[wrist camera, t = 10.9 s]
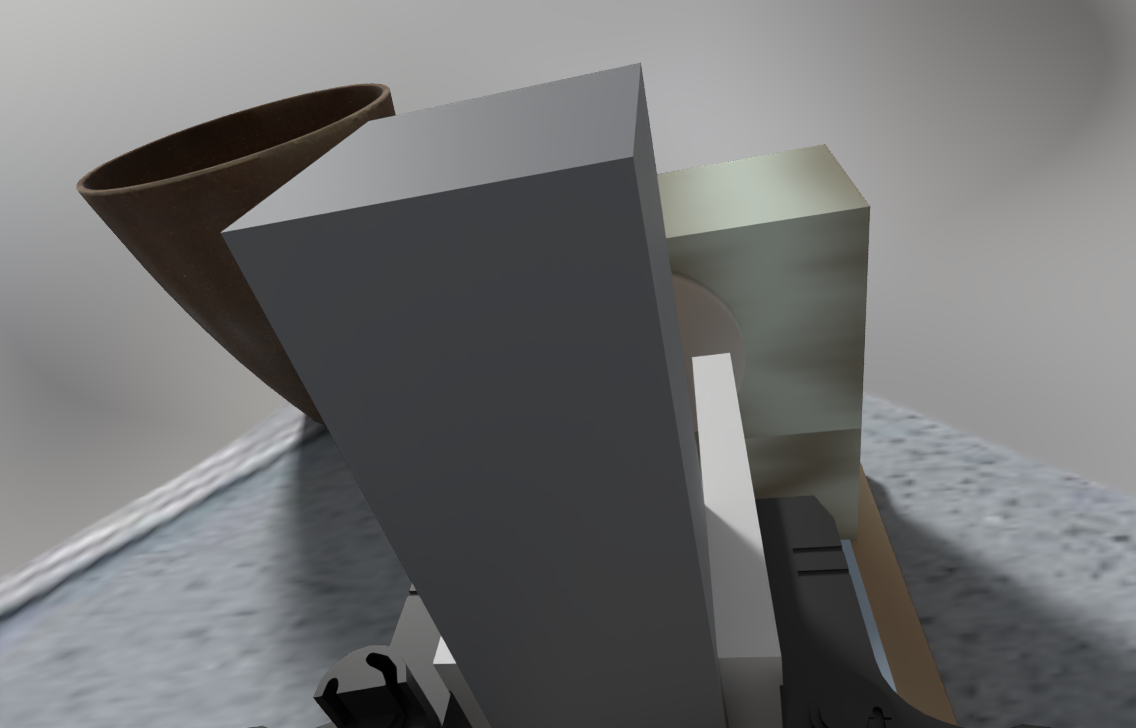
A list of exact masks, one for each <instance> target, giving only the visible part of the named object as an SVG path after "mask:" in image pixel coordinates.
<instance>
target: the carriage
mask: <svg viewBox="0 0 1136 728" xmlns="http://www.w3.org/2000/svg"><path fill="white" fill-rule="evenodd" d="M221 234H222V236H223V238H224V240H225V242H226V244H227V245H228V247H229V249H230V251H231V253H232V255H233V256H234V258H235V260H236V262H237V264H238V265H239V267H240V269H241V271H242V273H243V275H244V276H245V278H246V280H247V282H248V284H249V286H250V287H251V289H252V291H253V293H254V295H255V297H256V298H257V300H258V302H259V304H260V306H261V308H262V309H263V311H264V313H265V315H266V317H267V318H268V320H269V322H270V324H271V326H272V328H273V329H274V331H275V333H276V335H277V337H278V339H279V340H280V342H281V344H282V346H283V348H284V350H285V351H286V353H287V355H288V357H289V359H290V361H291V362H292V364H293V366H294V368H295V370H296V371H297V373H298V375H299V377H300V379H301V381H302V382H303V384H304V386H305V388H306V390H307V392H308V393H309V395H310V397H311V399H312V401H313V403H314V404H315V406H316V408H317V410H318V412H319V414H320V415H321V417H322V419H323V421H324V423H325V425H326V426H327V428H328V430H329V432H330V434H331V435H332V437H333V439H334V441H335V443H336V445H337V446H338V448H339V450H340V452H341V454H342V456H343V457H344V459H345V461H346V463H347V465H348V467H349V468H350V470H351V472H352V474H353V476H354V478H355V479H356V481H357V483H358V485H359V487H360V488H361V490H362V492H363V494H364V496H365V498H366V499H367V501H368V503H369V505H370V507H371V509H372V510H373V512H374V514H375V516H376V518H377V520H378V521H379V523H380V525H381V527H382V529H383V531H384V532H385V534H386V536H387V538H388V540H389V542H390V543H391V545H392V547H393V549H394V551H395V552H396V554H397V556H398V558H399V560H400V562H401V563H402V565H403V567H404V569H405V571H406V573H407V574H408V576H409V578H410V580H411V582H412V584H413V585H414V587H415V589H416V591H417V593H418V595H419V596H420V598H421V600H422V602H423V604H424V605H425V607H426V609H427V611H428V613H429V615H430V616H431V618H432V620H433V622H434V624H435V626H436V627H437V629H438V631H439V633H440V635H441V637H442V638H443V640H444V642H445V644H446V646H447V648H448V649H449V651H450V653H451V655H452V657H453V658H454V660H455V662H456V664H457V666H458V668H459V669H460V671H461V673H462V675H463V677H464V679H465V680H466V682H467V684H468V686H469V688H470V690H471V691H472V693H473V695H474V697H475V699H476V701H477V702H478V704H479V706H480V708H481V710H482V712H483V713H484V715H485V717H486V719H487V721H488V722H489V724H490V726H491V728H729V725H728V719H727V713H726V706H725V700H724V694H723V687H722V681H721V675H720V668H719V662H718V654H717V642H716V630H715V619H714V607H713V595H712V584H711V572H710V560H709V548H708V537H707V525H706V513H705V503H704V496H703V489H702V482H701V475H700V468H699V461H698V454H697V448H696V441H695V434H694V427H693V420H692V413H691V406H690V399H689V392H688V385H687V379H686V372H685V365H684V358H683V351H682V344H681V337H680V330H679V323H678V316H677V309H676V303H675V296H674V289H673V282H672V275H671V268H670V261H669V254H668V247H667V240H666V234H665V227H664V220H663V213H662V206H661V199H660V192H659V185H658V178H657V172H656V164H655V158H654V151H653V144H652V137H651V130H650V124H649V116H648V109H647V103H646V96H645V89H644V82H643V75H642V68H641V63H638V64H633V65H628V66H624V67H620V68H615V69H610V70H605V71H600V72H595V73H591V74H586V75H582V76H577V77H572V78H568V79H563V80H558V81H554V82H549V83H544V84H540V85H535V86H530V87H526V88H521V89H516V90H512V91H507V92H502V93H498V94H493V95H489V96H484V97H479V98H474V99H470V100H465V101H460V102H456V103H451V104H447V105H442V106H437V107H433V108H428V109H423V110H419V111H415V112H409V113H405V114H400V115H395V116H391V117H386V118H381V119H377V120H372V121H368V122H367V123H366V124H364V125H363V126H362V127H360V128H359V129H358V130H356V131H355V132H354V133H352V134H351V135H350V136H348V137H347V138H346V139H344V140H343V141H342V142H340V143H339V144H338V145H336V146H335V147H334V148H332V149H331V150H330V151H328V152H327V153H326V154H324V155H323V156H322V157H320V158H319V159H318V160H317V161H315V162H314V163H313V164H311V165H310V166H309V167H307V168H306V169H305V170H303V171H302V172H301V173H299V174H298V175H297V176H295V177H294V178H293V179H291V180H290V181H289V182H287V183H286V184H285V185H283V186H282V187H281V188H279V189H278V190H277V191H275V192H274V193H273V194H271V195H270V196H269V197H267V198H266V199H265V200H263V201H262V202H261V203H259V204H258V205H257V206H255V207H254V208H253V209H251V210H250V211H249V212H247V213H246V214H245V215H243V216H242V217H241V218H239V219H238V220H237V221H235V222H234V223H233V224H231V225H230V226H229V227H227V228H226V229H225V230H223V231H222V232H221ZM841 544H842V549H843V551H844V554H845V557H846V561H847V564H848V568H849V573H850V574H851V578H852V581H853V585H854V588H855V591H856V595H857V598H858V602H859V605H860V608H861V612H862V615H863V619H864V622H865V625H866V629H867V632H868V636H869V639H870V643H871V646H872V649H873V653H874V656H875V660H876V662H877V664H878V667H879V669H880V671H881V674H882V676H883V677H884V678H885V680H886V681H887V682H888V684H889V685H890V687H891V688H892V689H893V690H894V691H895V692H896V693H897V691H896V688H895V684H894V681H893V678H892V675H891V671H890V668H889V665H888V662H887V659H886V655H885V652H884V649H883V646H882V642H881V639H880V636H879V633H878V629H877V626H876V623H875V620H874V617H873V613H872V610H871V607H870V604H869V600H868V597H867V594H866V591H865V587H864V584H863V581H862V578H861V575H860V571H859V568H858V565H857V562H856V558H855V555H854V552H853V549H852V545H851V542H850V539H848V540H841Z"/></svg>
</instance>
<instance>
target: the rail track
mask: <svg viewBox="0 0 1136 728" xmlns="http://www.w3.org/2000/svg"><path fill="white" fill-rule="evenodd" d="M657 178H658V185H659V192H660V199H661V206H662V213H663V220H664V227H665V234H666V240H667V247H668V254H669V261H670V268H671V275H672V282H673V289H674V296H675V303H676V309H677V316H678V323H679V330H680V337H681V344H682V351H683V358H684V365H685V372H686V379H687V385H688V392H689V399H690V406H691V413H692V420H693V427H694V434H695V441H696V443H699V433H698V421H697V409H696V397H695V386H694V374H693V362H692V357H699V356H707V355H716V354H725V353H730V356H731V362H732V368H733V374H734V380H735V386H736V392H737V398H738V404H739V409H740V415H741V421H742V427H743V433H744V439H745V445H746V451H747V457H748V463H749V469H750V474H751V480H752V486H753V492H754V498H755V499H766V498H780V497H794V496H809V495H814V496H815V497H816V498H817V499H818V500H819V502H820V503H821V504H822V505H823V506H824V507H825V508H826V510H827V511H828V512H829V513H830V514H831V515H832V516H833V518H834V520H835V523H836V527H837V530H838V534H839V537H840V540H848V539H850V542H851V545H852V549H853V552H854V555H855V558H856V562H857V565H858V568H859V571H860V575H861V578H862V581H863V584H864V587H865V591H866V594H867V597H868V600H869V604H870V607H871V610H872V613H873V617H874V620H875V623H876V626H877V629H878V633H879V636H880V639H881V642H882V646H883V649H884V652H885V655H886V659H887V662H888V665H889V668H890V671H891V675H892V678H893V681H894V684H895V688H896V691H897V694H898V695H899V696H900V697H901V698H902V699H903V700H905V701H906V702H907V703H908V704H910V705H911V706H913V707H914V708H916V709H918V710H919V711H921V712H922V713H924V714H926V715H929V716H931V717H934V718H936V719H938V720H941V721H943V722H947V723H950V724H953V725H957V726H958V723H957V721H956V718H955V715H954V713H953V710H952V707H951V705H950V702H949V699H948V697H947V694H946V691H945V688H944V686H943V683H942V680H941V678H940V675H939V672H938V670H937V667H936V664H935V662H934V659H933V656H932V654H931V651H930V648H929V645H928V643H927V640H926V637H925V635H924V632H923V629H922V627H921V624H920V621H919V619H918V616H917V613H916V610H915V608H914V605H913V602H912V600H911V597H910V594H909V592H908V589H907V586H906V584H905V581H904V578H903V576H902V573H901V570H900V567H899V565H898V562H897V559H896V557H895V554H894V551H893V549H892V546H891V543H890V541H889V538H888V535H887V532H886V530H885V527H884V524H883V522H882V519H881V516H880V514H879V511H878V508H877V506H876V503H875V500H874V498H873V495H872V492H871V489H870V487H869V484H868V481H867V479H866V476H865V473H864V471H863V468H862V465H861V463H860V450H861V424H862V399H863V372H864V347H865V321H866V297H867V271H868V244H869V221H870V206H869V204H868V203H867V201H866V200H865V199H864V197H863V196H862V194H861V193H860V192H859V190H858V189H857V188H856V186H855V185H854V183H853V182H852V181H851V179H850V178H849V176H848V175H847V174H846V172H845V171H844V169H843V168H842V167H841V165H840V164H839V163H838V161H837V160H836V158H835V157H834V156H833V154H832V153H831V151H830V150H829V149H828V147H827V146H826V145H825V144H824V145H819V146H813V147H808V148H802V149H796V150H790V151H785V152H779V153H773V154H768V155H762V156H757V157H751V158H745V159H740V160H735V161H728V162H723V163H717V164H712V165H706V166H701V167H695V168H689V169H684V170H678V171H672V172H667V173H661V174H657Z"/></svg>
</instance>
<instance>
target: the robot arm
mask: <svg viewBox="0 0 1136 728" xmlns="http://www.w3.org/2000/svg"><path fill="white" fill-rule="evenodd" d="M692 362H693V374H694V386H695V397H696V409H697V421H698V433H699V445H700V457H701V469H702V481H703V493H704V503H705V513H706V525H707V537H708V548H709V560H710V572H711V584H712V595H713V607H714V619H715V630H716V642H717V654H718V662H719V668H720V675H721V681H722V687H723V694H724V700H725V706H726V713H727V719H728V725H729V728H963V727H960V726H957V725H953V724H950V723H947V722H943V721H941V720H938V719H936V718H934V717H931V716H929V715H926V714H924V713H922V712H921V711H919V710H918V709H916V708H914V707H913V706H911V705H910V704H908V703H907V702H906V701H905V700H903V699H902V698H901V697H900V696H899V695H898V694H897V693H896V692H895V691H894V690H893V689H892V688H891V687H890V685H889V684H888V682H887V681H886V680H885V678H884V677H883V676H882V674H881V671H880V669H879V667H878V664H877V662H876V660H875V656H874V653H873V649H872V646H871V643H870V639H869V636H868V632H867V629H866V625H865V622H864V619H863V615H862V612H861V608H860V605H859V602H858V598H857V595H856V591H855V588H854V585H853V581H852V578H851V574H850V573H849V568H848V564H847V561H846V557H845V554H844V551H843V549H842V544H841V540H840V537H839V534H838V530H837V527H836V523H835V520H834V518H833V516H832V515H831V514H830V513H829V512H828V511H827V510H826V508H825V507H824V506H823V505H822V504H821V503H820V502H819V500H818V499H817V498H816V497H815V496H814V495H809V496H794V497H780V498H766V499H755V498H754V492H753V486H752V480H751V474H750V469H749V463H748V457H747V451H746V445H745V439H744V433H743V427H742V421H741V415H740V409H739V404H738V398H737V392H736V386H735V380H734V374H733V368H732V362H731V356H730V353H725V354H716V355H707V356H699V357H692ZM409 592H410V595H409V596H407V599H406V601H405V604H404V607H403V610H402V613H401V615H400V618H399V621H398V624H397V626H396V629H395V632H394V635H393V638H392V640H391V643H390V646H389V647H388V646H386V645H369V646H366V647H363V648H360V649H357V650H354V651H352V652H350V653H349V654H348V655H346V656H345V657H343V658H342V659H340V660H339V661H338V662H336V663H335V664H334V665H333V666H332V668H331V669H330V670H329V671H328V672H327V674H326V675H325V676H324V677H323V678H322V680H321V682H320V684H319V686H318V688H317V690H316V692H315V695H314V697H313V698H314V699H315V700H316V702H317V703H318V704H319V705H320V707H321V708H322V709H323V710H324V712H325V713H326V714H327V715H328V717H329V718H330V719H331V720H332V722H330V723H328V724H325V725H322V726H319V727H317V728H491V726H490V724H489V722H488V721H487V719H486V717H485V715H484V713H483V712H482V710H481V708H480V706H479V704H478V702H477V701H476V699H475V697H474V695H473V693H472V691H471V690H470V688H469V686H468V684H467V682H466V680H465V679H464V677H463V675H462V673H461V671H460V669H459V668H458V666H457V664H456V662H455V660H454V658H453V657H452V655H451V653H450V651H449V649H448V648H447V646H446V644H445V642H444V640H443V638H442V637H441V635H440V633H439V631H438V629H437V627H436V626H435V624H434V622H433V620H432V618H431V616H430V615H429V613H428V611H427V609H426V607H425V605H424V604H423V602H422V600H421V598H420V596H419V595H418V593H417V591H416V589H415V587H414V585H413V584H412V585H411V587H410V590H409ZM250 728H266V727H264V726H259V727H250ZM1012 728H1050V727H1043V726H1033V725H1023V724H1022V725H1019V726H1016V727H1012Z"/></svg>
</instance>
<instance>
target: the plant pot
mask: <svg viewBox="0 0 1136 728" xmlns="http://www.w3.org/2000/svg"><path fill="white" fill-rule="evenodd" d="M391 116H395V110H394V106H393V102H392V97H391V93H390V89H389V87H387V86H386V85H382V84H372V83H371V84H356V85H348V86H342V87H336V88H331V89H326V90H321V91H316V92H312V93H307V94H302V95H298V96H294V97H290V98H287V99H282V100H279V101H275V102H271V103H268V104H264V105H260V106H257V107H253V108H250V109H247V110H243V111H240V112H236V113H233V114H230V115H227V116H223V117H220V118H217V119H214V120H211V121H209V122H205V123H202V124H199V125H196V126H193V127H191V128H188V129H185V130H182V131H180V132H176V133H174V134H171V135H169V136H166V137H164V138H161V139H158V140H156V141H153V142H151V143H149V144H146V145H144V146H142V147H139V148H137V149H134V150H133V151H130V152H128V153H125V154H123V155H121V156H119V157H117V158H115V159H113V160H111V161H108V162H106V163H105V164H103V165H101V166H99V167H97V168H96V169H94V170H93V171H91V172H89V173H88V174H86V175H85V176H84V177H83V178H82V179H81V180H80V181H79V182H78V183H77V187H76V189H77V190H78V191H79V193H80V194H81V195H82V196H83V198H84V199H85V200H86V201H87V202H88V204H89V205H90V206H91V207H92V208H93V210H94V211H95V212H96V213H97V214H98V215H99V216H100V217H101V219H102V220H103V221H104V222H105V223H106V224H107V226H108V227H109V228H110V229H111V230H112V231H113V233H114V234H115V235H116V236H117V237H118V238H119V239H120V240H121V242H122V243H123V244H124V245H125V246H126V247H127V248H128V250H129V251H130V252H131V253H132V254H133V255H134V257H135V258H136V259H137V260H138V261H139V262H140V263H141V265H142V266H143V267H144V268H145V269H146V270H147V271H148V272H149V273H150V274H151V275H152V277H153V278H154V279H155V280H156V281H157V282H158V283H159V284H160V285H161V286H162V287H163V288H164V290H165V291H166V292H167V293H168V294H169V295H170V296H171V297H172V298H173V299H174V300H175V301H176V302H177V303H178V304H179V305H180V306H181V307H182V308H183V309H184V310H185V311H186V312H187V313H188V314H189V315H190V316H191V317H192V318H193V319H194V320H195V321H196V322H197V323H198V324H199V325H200V326H201V327H202V328H203V329H204V330H205V331H206V332H207V333H209V334H210V335H211V336H212V337H213V338H214V339H215V340H216V341H217V342H218V343H219V344H220V345H222V346H223V347H224V348H225V349H226V350H227V351H228V352H229V353H230V354H231V355H233V356H234V357H235V358H236V359H237V360H238V361H239V362H240V363H242V364H243V365H244V366H245V367H246V368H247V369H249V370H250V371H251V372H252V373H254V374H255V375H256V376H257V377H258V378H260V379H261V380H262V381H263V382H264V383H265V384H267V385H268V386H269V387H271V388H272V389H273V390H275V391H276V392H277V393H278V394H279V395H281V396H282V397H283V398H285V399H286V400H287V401H289V402H290V403H291V404H292V405H294V406H295V407H297V408H298V409H299V410H301V411H302V412H303V413H305V414H306V415H308V416H309V417H311V418H312V419H313V420H315V421H317V422H319V423H323V424H325V423H324V421H323V419H322V417H321V415H320V414H319V412H318V410H317V408H316V406H315V404H314V403H313V401H312V399H311V397H310V395H309V393H308V392H307V390H306V388H305V386H304V384H303V382H302V381H301V379H300V377H299V375H298V373H297V371H296V370H295V368H294V366H293V364H292V362H291V361H290V359H289V357H288V355H287V353H286V351H285V350H284V348H283V346H282V344H281V342H280V340H279V339H278V337H277V335H276V333H275V331H274V329H273V328H272V326H271V324H270V322H269V320H268V318H267V317H266V315H265V313H264V311H263V309H262V308H261V306H260V304H259V302H258V300H257V298H256V297H255V295H254V293H253V291H252V289H251V287H250V286H249V284H248V282H247V280H246V278H245V276H244V275H243V273H242V271H241V269H240V267H239V265H238V264H237V262H236V260H235V258H234V256H233V255H232V253H231V251H230V249H229V247H228V245H227V244H226V242H225V240H224V238H223V236H222V234H221V232H222V231H223V230H225V229H226V228H227V227H229V226H230V225H231V224H233V223H234V222H235V221H237V220H238V219H239V218H241V217H242V216H243V215H245V214H246V213H247V212H249V211H250V210H251V209H253V208H254V207H255V206H257V205H258V204H259V203H261V202H262V201H263V200H265V199H266V198H267V197H269V196H270V195H271V194H273V193H274V192H275V191H277V190H278V189H279V188H281V187H282V186H283V185H285V184H286V183H287V182H289V181H290V180H291V179H293V178H294V177H295V176H297V175H298V174H299V173H301V172H302V171H303V170H305V169H306V168H307V167H309V166H310V165H311V164H313V163H314V162H315V161H317V160H318V159H319V158H320V157H322V156H323V155H324V154H326V153H327V152H328V151H330V150H331V149H332V148H334V147H335V146H336V145H338V144H339V143H340V142H342V141H343V140H344V139H346V138H347V137H348V136H350V135H351V134H352V133H354V132H355V131H356V130H358V129H359V128H360V127H362V126H363V125H364V124H366V123H367V122H368V121H372V120H377V119H381V118H386V117H391Z"/></svg>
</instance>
